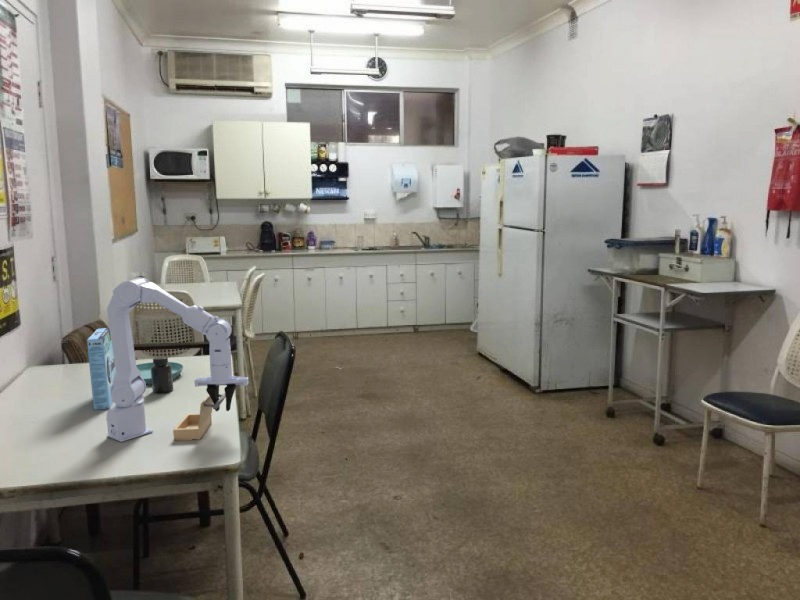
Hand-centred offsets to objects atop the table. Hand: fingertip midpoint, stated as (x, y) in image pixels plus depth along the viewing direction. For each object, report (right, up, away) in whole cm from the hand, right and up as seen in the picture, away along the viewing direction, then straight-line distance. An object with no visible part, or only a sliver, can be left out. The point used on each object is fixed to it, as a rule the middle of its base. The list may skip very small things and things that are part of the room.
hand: (223, 409), depth 172 cm
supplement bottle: (-33, -1, +40) cm, 51 cm away
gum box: (-48, -3, +30) cm, 56 cm away
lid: (-5, +1, 0) cm, 5 cm away
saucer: (-44, +1, +57) cm, 72 cm away
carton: (-9, -6, +1) cm, 11 cm away
